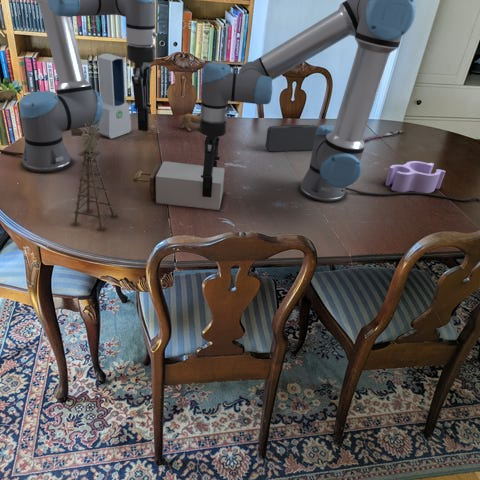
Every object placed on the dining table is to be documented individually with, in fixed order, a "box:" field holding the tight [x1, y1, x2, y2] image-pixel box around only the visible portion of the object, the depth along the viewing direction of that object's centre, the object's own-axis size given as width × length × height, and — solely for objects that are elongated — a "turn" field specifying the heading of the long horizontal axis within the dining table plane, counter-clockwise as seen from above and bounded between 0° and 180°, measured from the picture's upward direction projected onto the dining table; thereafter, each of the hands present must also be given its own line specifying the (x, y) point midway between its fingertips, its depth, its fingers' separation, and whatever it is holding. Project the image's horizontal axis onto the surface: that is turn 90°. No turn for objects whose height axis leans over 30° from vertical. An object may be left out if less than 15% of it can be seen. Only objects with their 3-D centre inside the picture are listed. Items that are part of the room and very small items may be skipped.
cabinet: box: [155, 160, 226, 211], centre depth 146 cm, size 20×11×9 cm, turn 86°
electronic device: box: [95, 53, 132, 139], centre depth 180 cm, size 12×8×30 cm, turn 148°
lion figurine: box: [177, 112, 201, 132], centre depth 198 cm, size 15×5×9 cm, turn 110°
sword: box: [362, 130, 405, 143], centre depth 214 cm, size 31×3×1 cm, turn 126°
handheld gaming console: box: [264, 124, 320, 152], centre depth 189 cm, size 23×3×10 cm, turn 108°
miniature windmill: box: [70, 116, 115, 230], centre depth 124 cm, size 9×8×30 cm
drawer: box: [132, 163, 161, 200], centre depth 146 cm, size 24×10×7 cm, turn 86°
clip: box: [385, 160, 447, 194], centre depth 170 cm, size 20×12×7 cm, turn 109°
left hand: (143, 129), depth 137 cm, fingers closed
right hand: (209, 187), depth 146 cm, fingers closed on cabinet, 11 cm apart
